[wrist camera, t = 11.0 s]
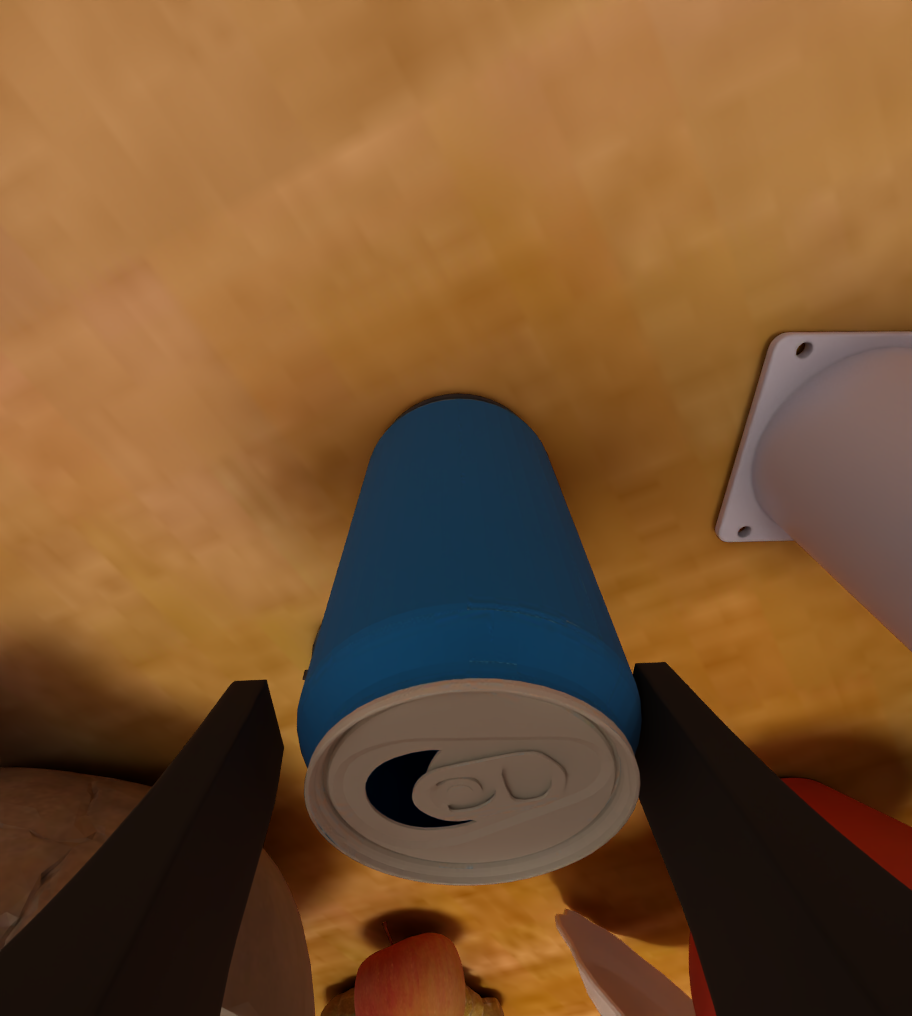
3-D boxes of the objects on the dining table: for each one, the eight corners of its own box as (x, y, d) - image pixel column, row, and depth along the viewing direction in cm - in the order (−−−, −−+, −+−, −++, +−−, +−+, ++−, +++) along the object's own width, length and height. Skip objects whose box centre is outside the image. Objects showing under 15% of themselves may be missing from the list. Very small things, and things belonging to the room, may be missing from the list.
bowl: (274, 649, 23) (181, 911, 15) (383, 929, 37) (368, 1148, 29) (-321, 711, 24) (-743, 999, 15) (5, 964, 38) (-121, 1189, 29)
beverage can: (341, 421, 18) (200, 721, 8) (526, 366, 17) (644, 622, 7) (404, 566, 21) (363, 917, 11) (562, 527, 20) (681, 866, 10)
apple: (503, 1052, 33) (471, 901, 39) (420, 1076, 29) (398, 902, 35) (422, 1083, 36) (404, 936, 42) (335, 1109, 31) (328, 941, 37)
